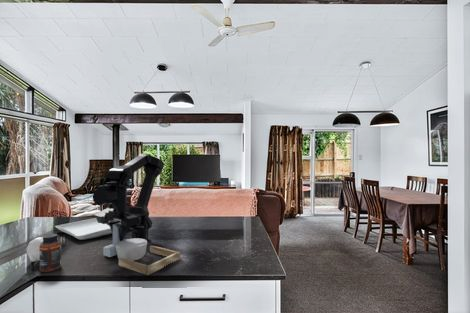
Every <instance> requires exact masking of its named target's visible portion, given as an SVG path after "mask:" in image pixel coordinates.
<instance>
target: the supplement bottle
mask: <svg viewBox="0 0 470 313" xmlns="http://www.w3.org/2000/svg"><path fill="white" fill-rule="evenodd" d="M42 237H43V242H42V243H41V244H40V247H39V249H40V250H39V252H40V253H39V254H40V261H39V271H40V272H41V273H51V272H54V271H57V270H58V269H60V268H61V266H62V242H61V240H59V239H58V234H57V233H51V234H50V233H49V234H46V235H45V234H44V235H43V236H42Z"/></svg>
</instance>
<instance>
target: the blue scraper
mask: <svg viewBox="0 0 470 313" xmlns="http://www.w3.org/2000/svg"><path fill="white" fill-rule="evenodd" d="M118 224H120V222H119V223H115V224H113V234H112V244H109V245H106V246H104V247H102V248H103V249H102V250H103V251H102V254H103V256H105V257H108V258H111V257H114V256H117V249H116V244H117V243H118V242H120V238H119V228H118V227H117V226H116V225H118ZM123 240H125V238H124V239H123Z"/></svg>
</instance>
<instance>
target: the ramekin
mask: <svg viewBox="0 0 470 313" xmlns="http://www.w3.org/2000/svg"><path fill="white" fill-rule="evenodd" d="M147 245H148V242H147V240H145V239H140V238H133V239H132V238H126V239H124V240H123V241H120V242H118V243H117V244H116V249H117V255H116V256H117V259H119V258H125V259H128V260H131V261H135V262H136V261H138V260H140V259H142V258H144V256H145V255H146V251H147Z"/></svg>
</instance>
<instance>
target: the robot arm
mask: <svg viewBox="0 0 470 313" xmlns="http://www.w3.org/2000/svg"><path fill="white" fill-rule="evenodd" d="M164 166H165V164H164V162H163V160H162V159H161V158H158V157H156V156H153V155H151V154H150V153H140V154H138V155H137V156H136V157H134V158H133V159H132V160H130V161H128V162H127V163H125V164H123V165H119V166H115V167H113V168H110V169H109V170H108V172H107V174H106V177H105V178H104V180H103V183H102V184H101V185H97V189H96V190H94V192H93V194H92V200H93V203H94V204H96V205H98V206H103V205H107V207H106V208H105V209H103V210H101V211H99V212H97V213H96V214H94V216H95V218H96V219H97V222H98V223H102V224H107V225H108V226H110V228H111V231H112V233H111V234H112V235H113V224H115V223H119V222H120V224H118V225H116V226H117V227H118V228H119V238H120V241H123V239H124V240H125V237H126V235H127V233H128V231H129V230H130V229H131V231H132V232H131V239H133V238H140V239H145V240H147V243H148V242H150V241H152V239H151V238H149V230H150V229H151V228H152V226H153V221H152V219H151V218H150V212H149V209H148V207H149V203H150V199H151V196H152V192H153V189H154V186H155V182H156V179H157V177H159V175H161V173H162V172H163V170H164ZM141 168H143V171H144V174H145V175H144V179H143V181H142V185H141V187H140V191H139V194H138V198H137V201H136V203H135V204H134V206H130V207H129V210H127V209H128V208H127V207H128V206H129V205H130V202H129V201H128V189H129V188H131V185H130V184H129V183H128V182H130V180H131V179H132V178H133V174H134V173H136V172H137V171H139V169H141Z"/></svg>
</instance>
